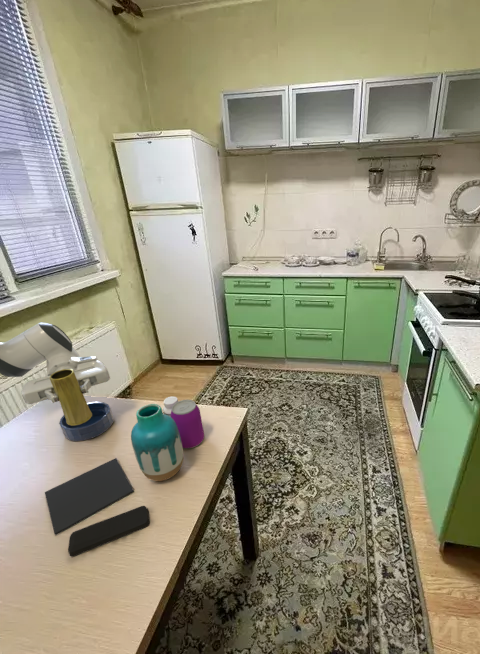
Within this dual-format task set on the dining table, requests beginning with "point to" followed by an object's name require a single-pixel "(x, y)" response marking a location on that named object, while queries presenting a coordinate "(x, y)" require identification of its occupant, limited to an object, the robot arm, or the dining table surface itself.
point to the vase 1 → (70, 397)
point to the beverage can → (188, 423)
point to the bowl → (89, 423)
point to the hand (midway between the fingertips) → (70, 395)
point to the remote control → (108, 530)
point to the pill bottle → (169, 405)
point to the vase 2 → (156, 443)
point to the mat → (86, 495)
